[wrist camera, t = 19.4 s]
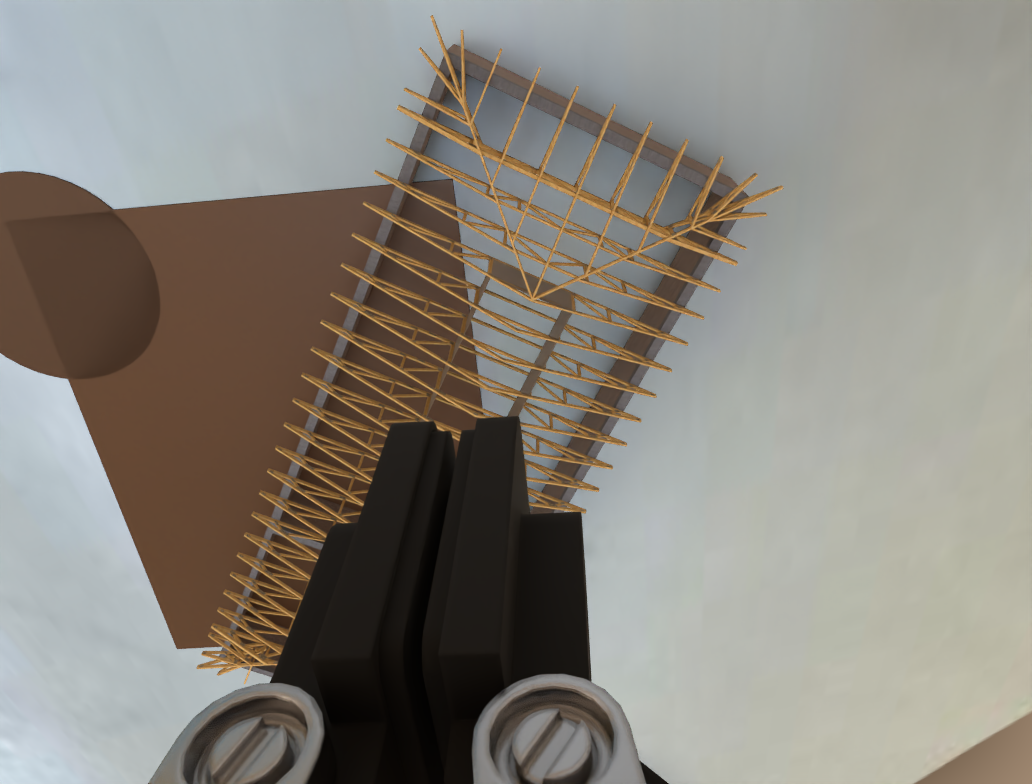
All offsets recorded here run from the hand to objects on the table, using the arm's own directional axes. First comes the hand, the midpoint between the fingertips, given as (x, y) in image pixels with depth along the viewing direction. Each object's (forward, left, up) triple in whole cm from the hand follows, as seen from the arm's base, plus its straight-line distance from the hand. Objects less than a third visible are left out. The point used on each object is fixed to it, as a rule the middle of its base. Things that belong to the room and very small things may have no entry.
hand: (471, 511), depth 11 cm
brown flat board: (+15, +13, -25) cm, 32 cm away
